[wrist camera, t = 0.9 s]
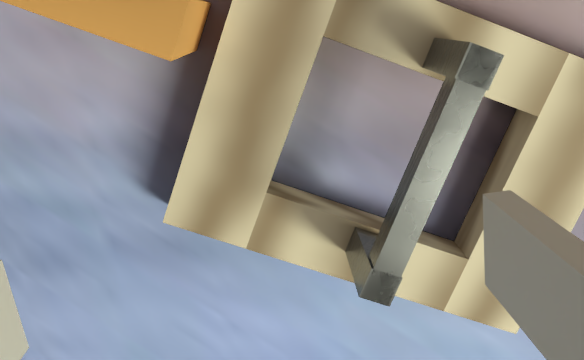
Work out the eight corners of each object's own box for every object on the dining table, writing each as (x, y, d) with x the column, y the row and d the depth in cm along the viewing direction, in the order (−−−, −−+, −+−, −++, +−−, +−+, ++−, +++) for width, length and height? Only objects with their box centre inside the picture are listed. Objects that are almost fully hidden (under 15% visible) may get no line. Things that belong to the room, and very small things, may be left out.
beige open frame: (171, 206, 37) (162, 222, 34) (256, -64, 32) (254, -71, 29) (498, 311, 40) (516, 334, 37) (619, 79, 36) (649, 84, 33)
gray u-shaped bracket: (339, 233, 38) (358, 296, 29) (420, 35, 34) (470, 41, 26) (363, 241, 38) (389, 306, 30) (446, 45, 35) (504, 55, 26)
